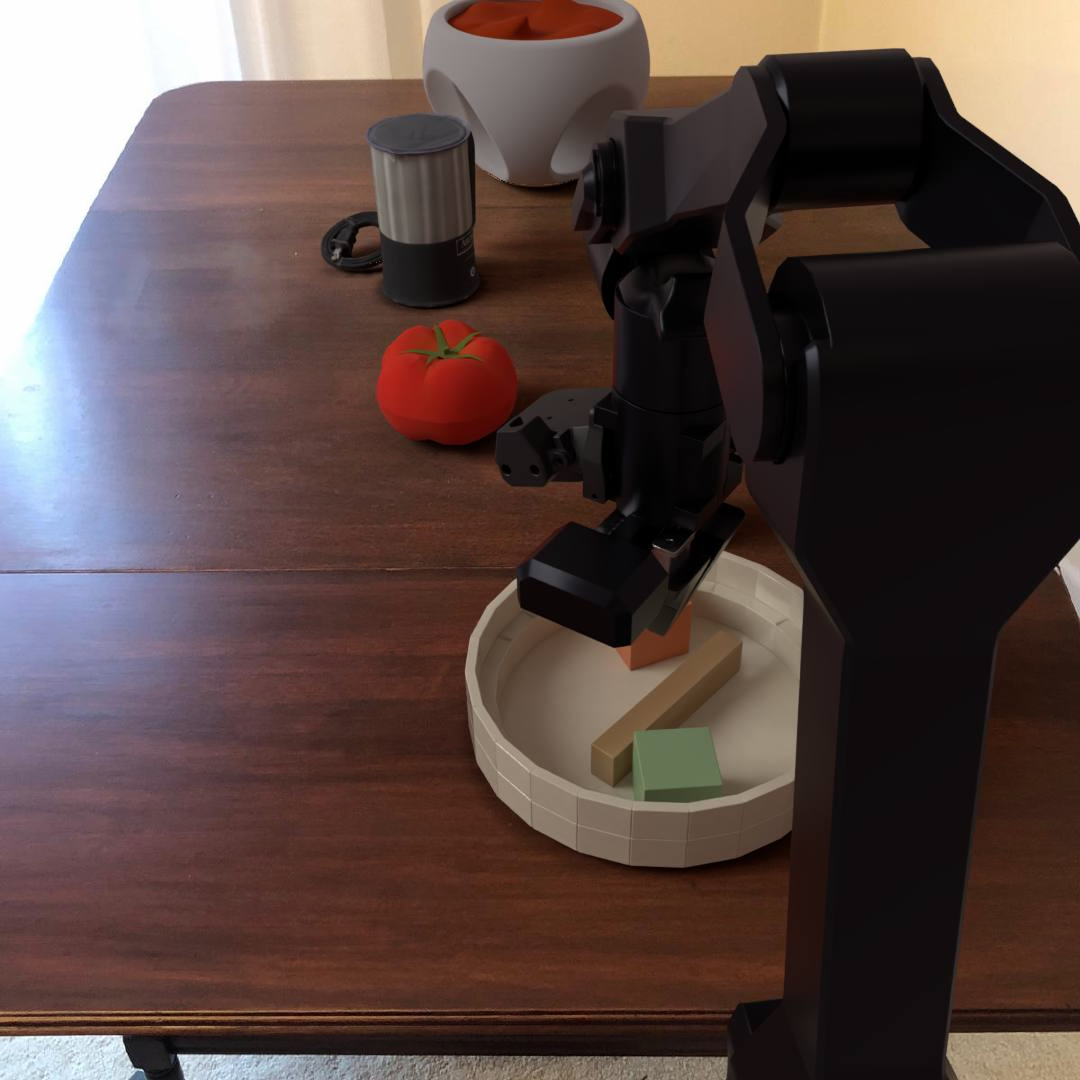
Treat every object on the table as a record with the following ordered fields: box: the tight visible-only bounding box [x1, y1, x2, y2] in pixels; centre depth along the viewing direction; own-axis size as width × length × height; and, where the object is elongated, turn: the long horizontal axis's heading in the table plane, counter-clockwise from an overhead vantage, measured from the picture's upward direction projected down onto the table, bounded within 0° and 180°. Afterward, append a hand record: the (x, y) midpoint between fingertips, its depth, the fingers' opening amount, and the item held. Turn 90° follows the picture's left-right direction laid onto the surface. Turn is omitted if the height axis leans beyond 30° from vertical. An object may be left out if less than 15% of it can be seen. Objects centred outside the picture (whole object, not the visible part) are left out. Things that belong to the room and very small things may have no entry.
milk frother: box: [320, 112, 481, 308], centre depth 112 cm, size 14×16×15 cm
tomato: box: [376, 318, 519, 446], centre depth 94 cm, size 11×11×8 cm
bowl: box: [464, 550, 804, 869], centre depth 69 cm, size 21×21×5 cm
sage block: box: [632, 727, 723, 803], centre depth 64 cm, size 4×4×4 cm
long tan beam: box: [591, 630, 743, 788], centre depth 69 cm, size 2×12×2 cm, turn 138°
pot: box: [421, 0, 651, 188], centre depth 131 cm, size 24×24×18 cm
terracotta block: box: [615, 601, 693, 670], centre depth 74 cm, size 4×4×4 cm
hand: (658, 629), depth 66 cm, fingers closed
